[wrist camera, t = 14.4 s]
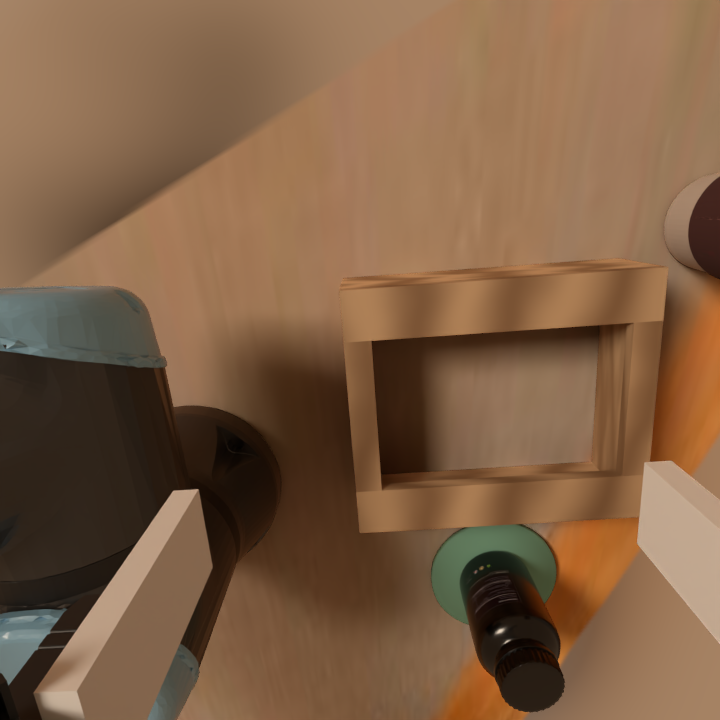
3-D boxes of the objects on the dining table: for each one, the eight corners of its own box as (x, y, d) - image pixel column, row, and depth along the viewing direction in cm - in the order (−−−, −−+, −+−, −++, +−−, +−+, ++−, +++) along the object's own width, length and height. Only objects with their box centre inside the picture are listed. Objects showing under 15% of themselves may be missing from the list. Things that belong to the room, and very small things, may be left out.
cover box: (360, 487, 47) (359, 533, 40) (343, 278, 42) (338, 290, 35) (604, 472, 46) (644, 516, 40) (618, 258, 41) (668, 267, 34)
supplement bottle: (541, 586, 49) (595, 700, 38) (479, 617, 50) (514, 737, 39) (507, 535, 48) (553, 638, 36) (444, 568, 49) (469, 678, 37)
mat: (433, 626, 51) (433, 631, 51) (428, 523, 48) (429, 527, 47) (552, 620, 51) (554, 624, 50) (556, 516, 48) (558, 520, 47)
